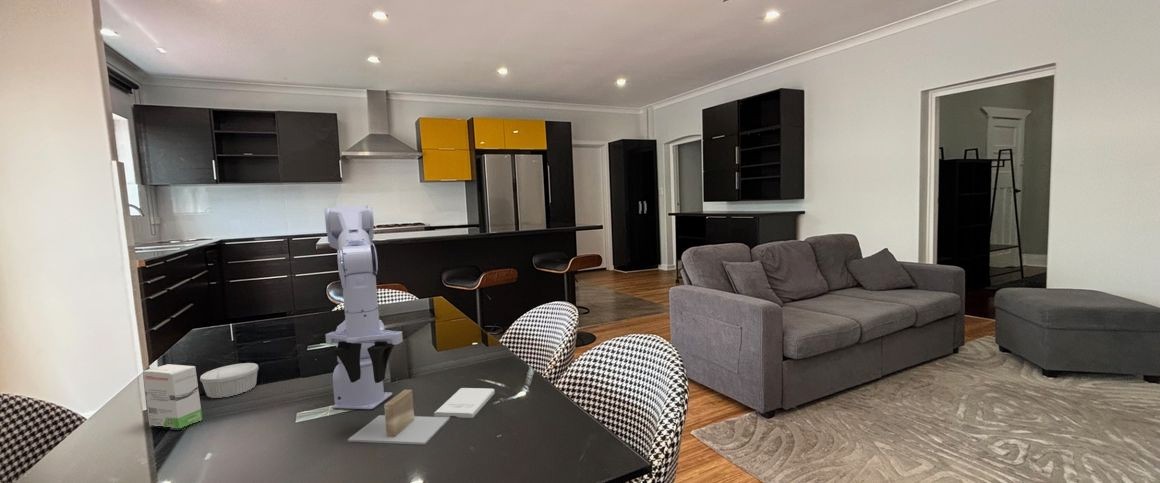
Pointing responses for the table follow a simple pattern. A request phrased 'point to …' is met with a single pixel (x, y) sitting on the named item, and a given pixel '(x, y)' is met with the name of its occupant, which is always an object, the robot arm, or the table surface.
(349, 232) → the robot arm
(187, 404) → the ink box
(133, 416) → the table surface
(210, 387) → the ramekin
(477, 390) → the external hard drive
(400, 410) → the tile
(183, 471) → the table surface
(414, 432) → the mat
